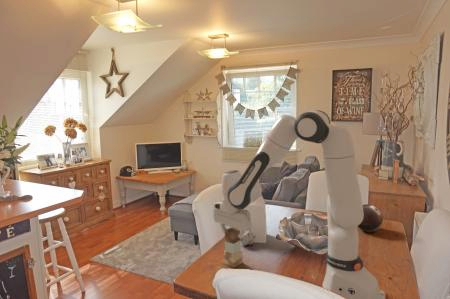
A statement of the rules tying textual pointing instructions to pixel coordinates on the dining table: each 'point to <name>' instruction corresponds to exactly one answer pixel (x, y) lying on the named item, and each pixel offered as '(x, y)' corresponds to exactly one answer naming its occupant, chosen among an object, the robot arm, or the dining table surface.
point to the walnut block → (232, 235)
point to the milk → (258, 220)
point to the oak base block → (233, 258)
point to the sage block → (233, 247)
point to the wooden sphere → (371, 218)
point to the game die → (247, 238)
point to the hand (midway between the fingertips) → (232, 235)
